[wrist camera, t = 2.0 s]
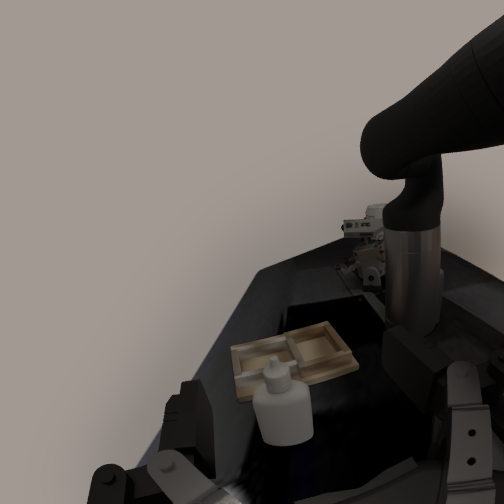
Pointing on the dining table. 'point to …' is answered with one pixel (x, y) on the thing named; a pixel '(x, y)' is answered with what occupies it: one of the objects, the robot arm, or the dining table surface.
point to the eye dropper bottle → (283, 406)
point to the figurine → (366, 252)
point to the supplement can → (375, 216)
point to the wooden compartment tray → (292, 358)
